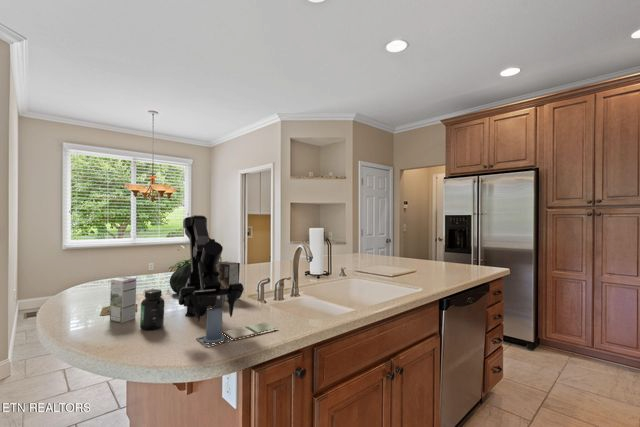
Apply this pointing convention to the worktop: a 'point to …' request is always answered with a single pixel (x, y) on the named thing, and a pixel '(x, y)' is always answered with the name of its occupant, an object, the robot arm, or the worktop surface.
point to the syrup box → (123, 299)
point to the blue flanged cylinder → (214, 326)
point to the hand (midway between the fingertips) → (215, 318)
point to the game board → (243, 332)
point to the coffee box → (228, 274)
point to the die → (219, 302)
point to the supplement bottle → (152, 311)
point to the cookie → (108, 311)
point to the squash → (180, 278)
